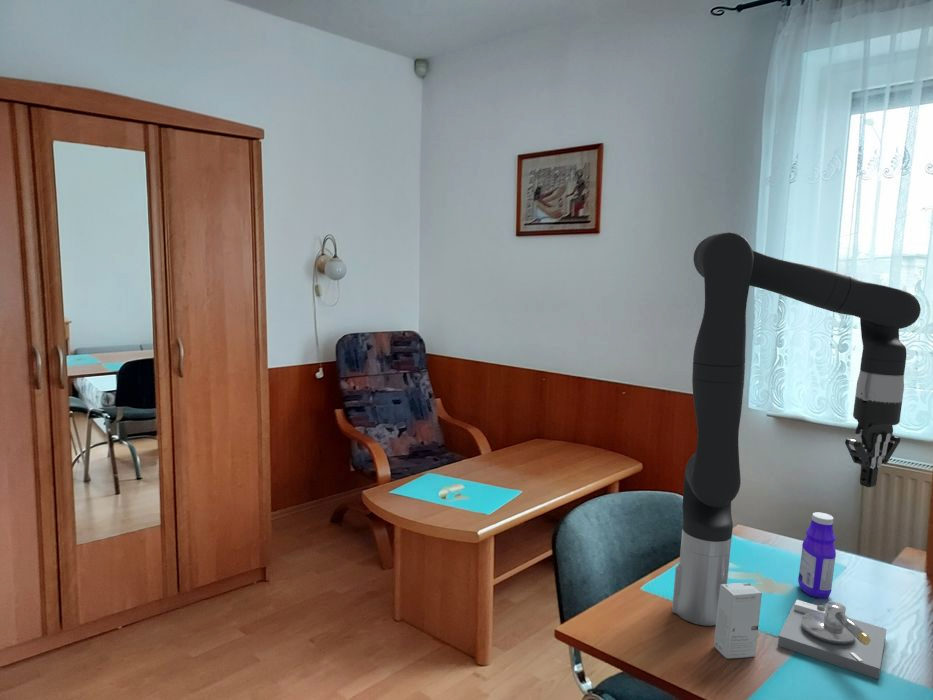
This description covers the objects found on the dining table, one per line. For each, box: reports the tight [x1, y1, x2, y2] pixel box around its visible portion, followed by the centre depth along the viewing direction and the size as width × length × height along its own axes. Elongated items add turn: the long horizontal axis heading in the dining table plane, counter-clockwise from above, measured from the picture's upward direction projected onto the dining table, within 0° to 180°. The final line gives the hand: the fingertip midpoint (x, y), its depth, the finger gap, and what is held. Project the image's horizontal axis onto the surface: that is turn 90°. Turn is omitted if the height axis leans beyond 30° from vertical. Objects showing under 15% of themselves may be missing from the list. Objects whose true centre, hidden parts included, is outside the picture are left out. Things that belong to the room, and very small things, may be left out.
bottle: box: [797, 511, 837, 599], centre depth 145 cm, size 7×6×17 cm
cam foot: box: [801, 601, 871, 645], centre depth 122 cm, size 16×9×6 cm, turn 1°
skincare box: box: [713, 582, 763, 659], centre depth 121 cm, size 6×4×12 cm
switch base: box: [777, 599, 887, 680], centre depth 126 cm, size 16×16×4 cm
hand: (867, 485), depth 128 cm, fingers closed
